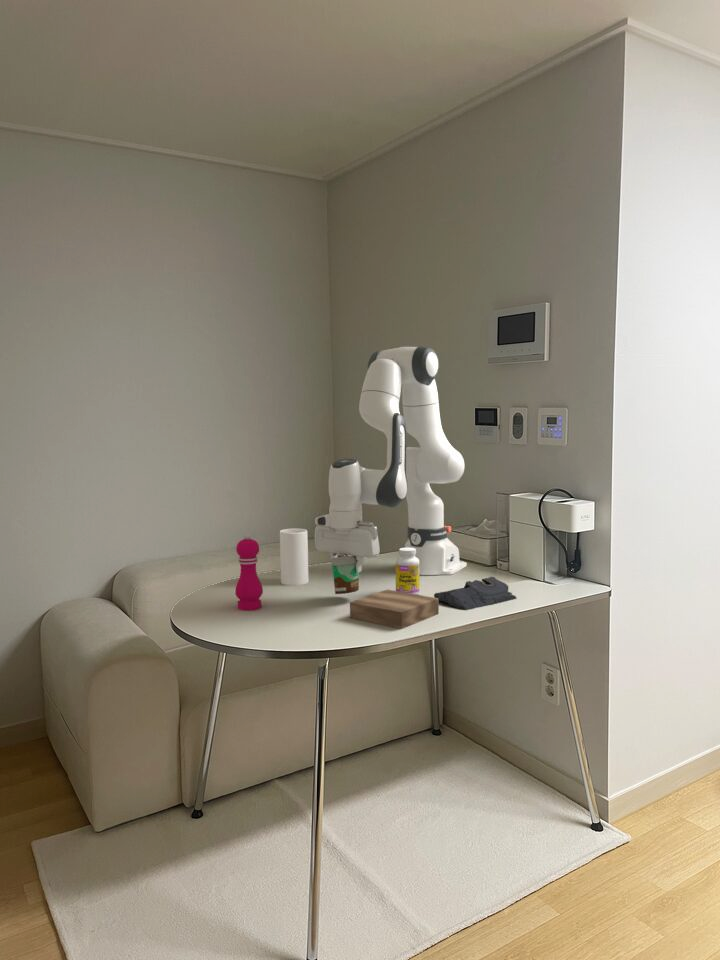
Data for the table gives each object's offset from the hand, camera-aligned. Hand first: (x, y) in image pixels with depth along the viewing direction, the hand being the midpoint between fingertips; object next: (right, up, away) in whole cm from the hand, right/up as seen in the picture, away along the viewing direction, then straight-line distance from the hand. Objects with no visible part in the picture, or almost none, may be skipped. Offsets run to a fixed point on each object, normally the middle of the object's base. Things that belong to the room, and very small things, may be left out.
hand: (347, 569), depth 210 cm
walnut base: (+12, -10, -14) cm, 21 cm away
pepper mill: (-26, -10, -4) cm, 28 cm away
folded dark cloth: (+35, -9, +1) cm, 36 cm away
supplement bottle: (+17, -8, +7) cm, 20 cm away
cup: (-16, -7, +22) cm, 28 cm away
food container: (+1, -6, 0) cm, 6 cm away
